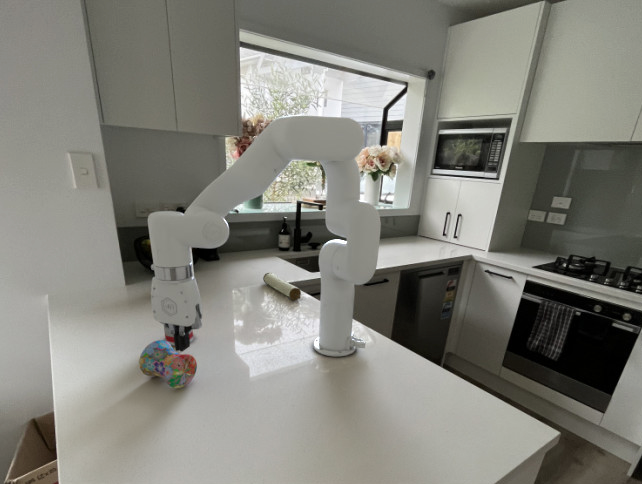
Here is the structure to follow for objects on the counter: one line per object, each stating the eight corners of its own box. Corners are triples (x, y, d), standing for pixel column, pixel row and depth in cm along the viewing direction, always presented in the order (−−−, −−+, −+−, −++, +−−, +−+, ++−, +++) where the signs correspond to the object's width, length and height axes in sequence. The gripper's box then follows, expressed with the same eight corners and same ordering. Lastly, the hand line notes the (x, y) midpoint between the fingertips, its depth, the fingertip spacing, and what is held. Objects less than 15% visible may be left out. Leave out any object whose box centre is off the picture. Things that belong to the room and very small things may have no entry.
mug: (178, 349, 84) (149, 335, 89) (160, 388, 83) (132, 372, 88) (213, 360, 95) (185, 347, 100) (197, 395, 94) (170, 380, 99)
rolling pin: (259, 282, 170) (259, 271, 168) (271, 280, 172) (270, 269, 170) (293, 304, 145) (293, 291, 143) (306, 302, 147) (306, 289, 146)
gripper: (131, 272, 79) (144, 350, 86) (194, 280, 75) (201, 361, 82) (156, 264, 85) (165, 337, 92) (214, 271, 82) (220, 347, 89)
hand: (182, 348), depth 87 cm, fingers closed
